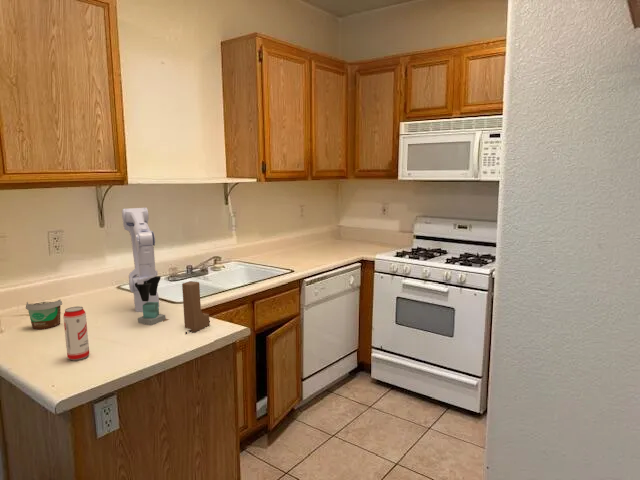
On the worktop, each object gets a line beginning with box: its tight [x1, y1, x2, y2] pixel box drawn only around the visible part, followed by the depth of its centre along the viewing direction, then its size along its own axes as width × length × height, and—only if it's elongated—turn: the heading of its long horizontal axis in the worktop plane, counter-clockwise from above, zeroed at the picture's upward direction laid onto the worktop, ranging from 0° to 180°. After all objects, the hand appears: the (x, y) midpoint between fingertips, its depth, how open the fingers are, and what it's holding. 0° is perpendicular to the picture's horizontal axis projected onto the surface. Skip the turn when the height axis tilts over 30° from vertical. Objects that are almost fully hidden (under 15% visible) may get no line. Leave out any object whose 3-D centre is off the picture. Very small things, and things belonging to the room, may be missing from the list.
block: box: [142, 302, 160, 318], centre depth 174 cm, size 4×4×5 cm
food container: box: [25, 299, 63, 331], centre depth 172 cm, size 12×6×10 cm, turn 105°
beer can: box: [63, 306, 90, 362], centre depth 143 cm, size 6×6×16 cm
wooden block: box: [181, 280, 211, 333], centre depth 168 cm, size 9×4×18 cm, turn 155°
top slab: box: [137, 313, 167, 326], centre depth 174 cm, size 7×7×2 cm
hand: (149, 298), depth 173 cm, fingers open, 7 cm apart
